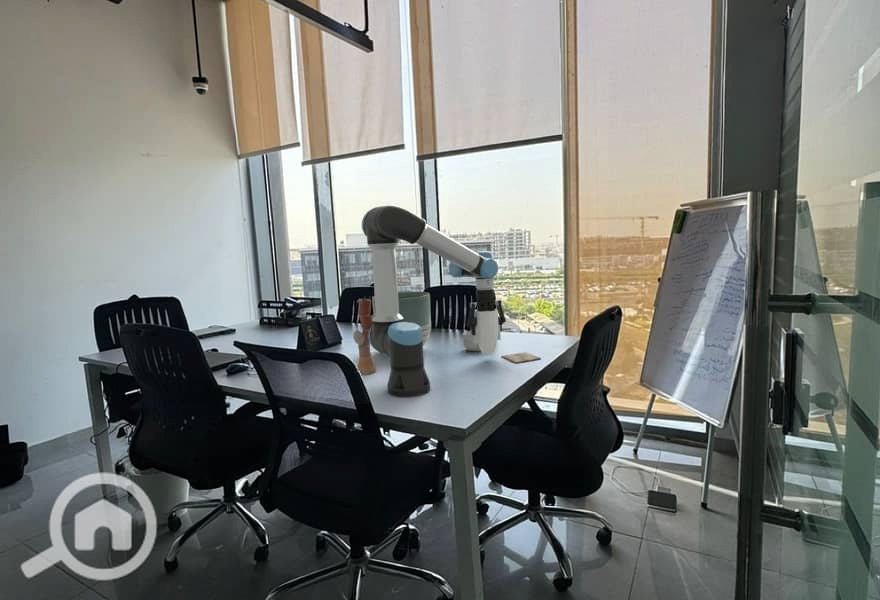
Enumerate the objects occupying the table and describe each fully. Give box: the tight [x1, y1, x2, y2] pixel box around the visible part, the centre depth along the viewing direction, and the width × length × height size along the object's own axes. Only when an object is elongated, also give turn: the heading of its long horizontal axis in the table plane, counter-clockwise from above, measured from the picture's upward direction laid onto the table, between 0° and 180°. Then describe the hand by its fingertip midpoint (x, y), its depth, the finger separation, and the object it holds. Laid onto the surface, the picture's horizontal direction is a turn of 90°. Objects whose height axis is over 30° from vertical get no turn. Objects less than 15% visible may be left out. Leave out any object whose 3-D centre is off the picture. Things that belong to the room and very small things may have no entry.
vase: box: [352, 298, 377, 376], centre depth 194 cm, size 10×7×30 cm
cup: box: [473, 308, 499, 356], centre depth 203 cm, size 10×10×22 cm
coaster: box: [501, 351, 542, 364], centre depth 204 cm, size 12×12×1 cm
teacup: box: [462, 331, 481, 352], centre depth 221 cm, size 14×11×8 cm
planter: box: [371, 291, 432, 347], centre depth 225 cm, size 27×27×27 cm
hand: (487, 341), depth 203 cm, fingers closed on cup, 10 cm apart
